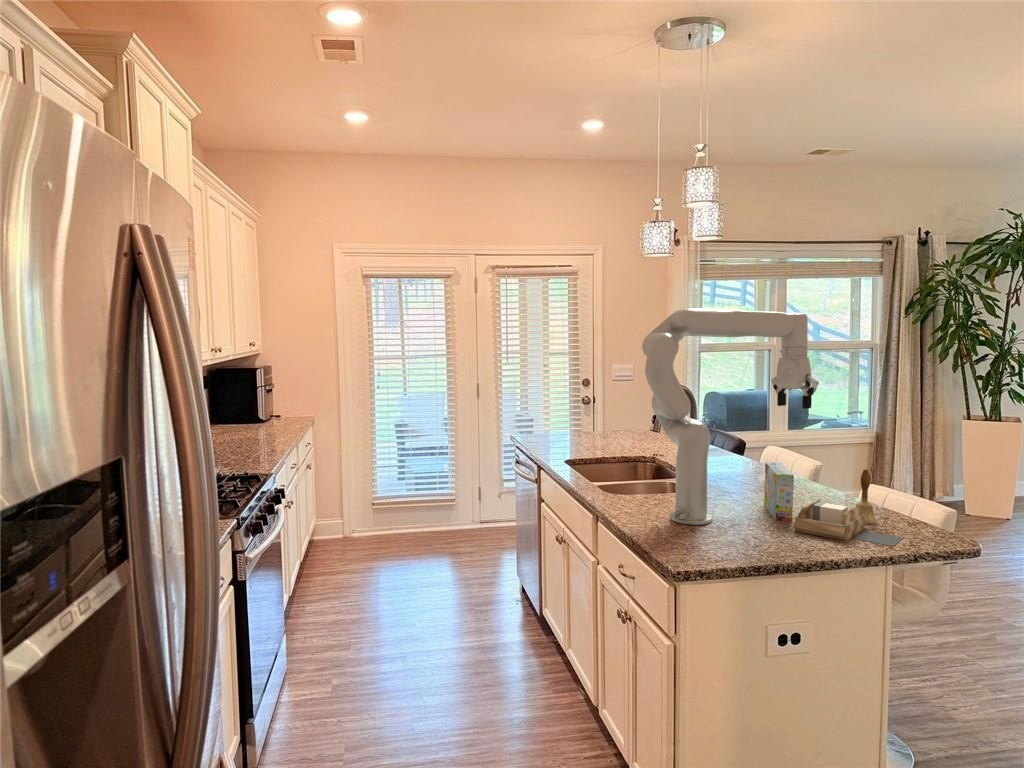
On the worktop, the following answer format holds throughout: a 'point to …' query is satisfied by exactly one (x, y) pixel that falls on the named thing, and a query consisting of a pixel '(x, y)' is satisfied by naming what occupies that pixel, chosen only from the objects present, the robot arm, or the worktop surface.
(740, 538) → the worktop surface
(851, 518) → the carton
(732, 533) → the worktop surface
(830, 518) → the white box
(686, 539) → the worktop surface
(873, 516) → the hand bell
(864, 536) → the slate mat
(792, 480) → the snack box
